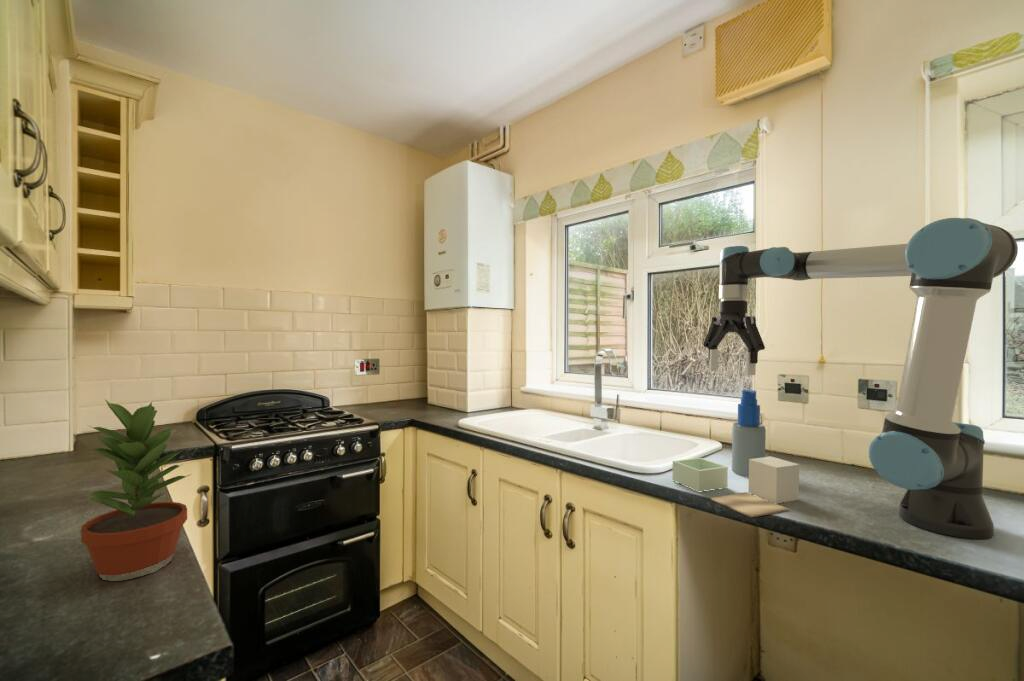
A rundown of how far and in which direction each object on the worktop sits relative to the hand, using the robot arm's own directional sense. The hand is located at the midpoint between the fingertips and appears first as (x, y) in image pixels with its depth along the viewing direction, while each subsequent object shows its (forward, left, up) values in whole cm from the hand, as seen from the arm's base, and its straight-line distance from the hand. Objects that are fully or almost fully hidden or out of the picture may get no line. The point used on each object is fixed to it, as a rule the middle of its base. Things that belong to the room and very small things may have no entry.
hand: (731, 372), depth 133 cm
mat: (-18, +14, -31) cm, 38 cm away
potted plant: (0, +141, -31) cm, 144 cm away
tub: (-2, +14, -31) cm, 34 cm away
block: (-16, +3, -31) cm, 35 cm away
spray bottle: (+1, -8, -31) cm, 32 cm away
